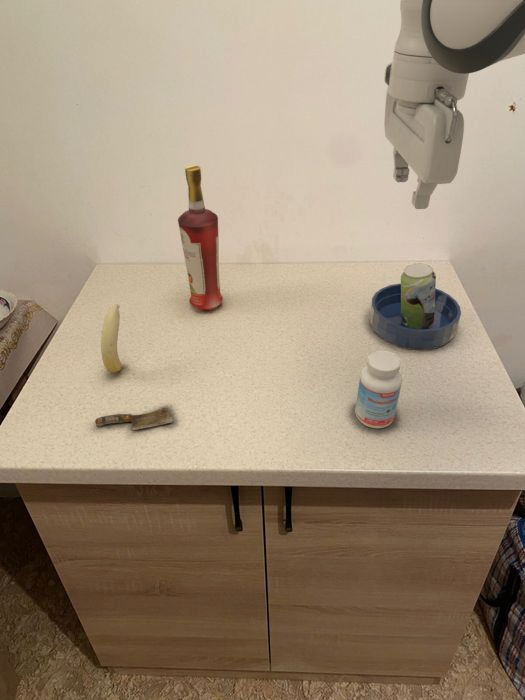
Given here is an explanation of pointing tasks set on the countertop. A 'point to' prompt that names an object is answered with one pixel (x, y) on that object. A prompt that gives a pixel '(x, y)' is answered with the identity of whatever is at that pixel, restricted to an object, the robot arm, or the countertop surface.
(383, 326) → the bowl
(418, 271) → the beverage can
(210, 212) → the liquor
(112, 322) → the fruit
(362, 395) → the pill bottle
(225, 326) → the countertop surface
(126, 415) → the meat cleaver
